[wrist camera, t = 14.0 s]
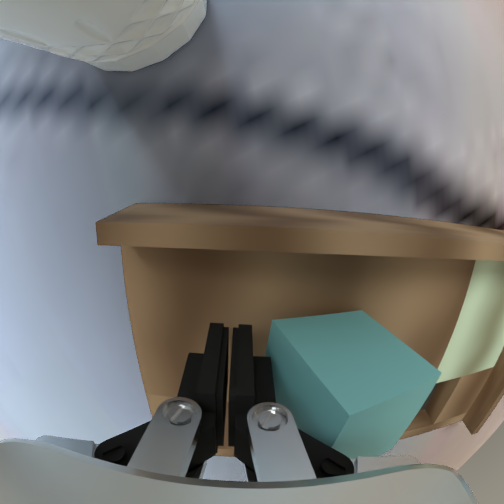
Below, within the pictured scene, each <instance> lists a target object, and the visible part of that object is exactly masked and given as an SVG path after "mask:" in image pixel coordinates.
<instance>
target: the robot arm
mask: <svg viewBox="0 0 504 504" xmlns="http://www.w3.org/2000/svg"><path fill="white" fill-rule="evenodd" d="M228 348H229V327H224V323H210V325H209V330H208V335H207V340H206V345H205V350H204V354H203V353H189V354H188V357H187V361H186V365H185V368H184V372H183V376H182V380H181V384H180V387H179V391H178V395H177V397H173V398H170V399H167V400H165V401H164V402H162V403H161V404H160V405H159V407H158V408H157V410H156V412H155V414H154V416H153V418H152V420H151V421H149V422H147V423H145V424H142V425H140V426H138V427H136V428H134V429H131V430H129V431H127V432H125V433H122V434H120V435H117V436H115V437H113V438H110V439H108V440H105V441H104V442H102V443H100V444H95V443H94V441H86V440H77V439H69V438H62V437H55V436H41V437H38V438H37V439H36V440H29V439H16V438H14V439H4V440H1V441H0V504H479V503H478V501H477V499H476V497H475V495H474V494H473V492H472V490H471V489H470V487H469V486H468V484H467V483H466V481H465V480H464V478H463V477H462V476H461V475H460V474H459V473H458V472H457V471H455V470H454V469H453V468H450V467H448V466H443V465H437V464H421V463H420V462H419V461H418V460H417V459H416V458H414V457H411V456H384V457H360V456H357V458H356V459H350V458H348V457H347V456H346V455H344V454H342V453H341V452H339V451H337V450H335V449H333V448H331V447H330V446H328V445H326V444H324V443H322V442H321V441H319V440H317V439H315V438H314V437H312V436H310V435H309V434H307V433H305V432H304V431H302V430H300V429H299V428H297V426H296V423H295V421H294V418H293V415H292V414H291V412H290V410H289V409H287V408H286V407H285V406H283V405H281V404H278V403H276V398H275V389H274V381H273V372H272V363H271V357H264V356H253V336H252V325H248V324H239V327H238V328H236V327H233V336H232V350H231V365H230V380H229V402H228V446H230V447H234V456H235V457H236V458H238V459H239V460H240V461H242V462H243V468H244V473H245V478H246V482H240V481H219V480H206V479H202V478H203V475H204V471H205V468H206V465H207V460H208V459H209V458H211V457H213V456H214V455H216V453H218V446H224V432H225V417H226V402H227V387H228Z"/></svg>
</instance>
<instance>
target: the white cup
mask: <svg viewBox="0 0 504 504" xmlns="http://www.w3.org/2000/svg"><path fill="white" fill-rule="evenodd" d="M206 9H207V0H0V39H4V40H8V41H12V42H15V43H19V44H22V45H26V46H29V47H32V48H35V49H39V50H43V51H48V52H51V53H54V54H57V55H60V56H63V57H66V58H71V59H76V60H81V61H84V62H86V63H89V64H91V65H93V66H96V67H98V68H100V69H102V70H105V71H136V70H138V69H141V68H143V67H146V66H149V65H152V64H155V63H157V62H160V61H163V60H165V59H166V58H167V57H169V56H170V55H171V54H172V53H174V52H175V51H176V50H178V49H179V48H180V47H182V46H183V45H184V44H186V43H187V42H189V41H190V40H191V38H192V37H193V35H194V33H195V32H196V30H197V29H198V27H199V26H200V24H201V23H202V21H203V20H204V18H205V17H206Z"/></svg>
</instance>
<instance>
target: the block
mask: <svg viewBox="0 0 504 504" xmlns="http://www.w3.org/2000/svg"><path fill="white" fill-rule="evenodd" d="M265 357H271V363H272V372H273V381H274V389H275V398H276V403H278V404H281V405H283V406H285V407H286V408H287V409H289V410H290V412H291V414H292V415H293V418H294V421H295V423H296V426H297V428H299V429H300V430H302V431H304V432H305V433H307V434H309V435H310V436H312V437H314V438H315V439H317V440H319V441H321V442H322V443H324V444H326V445H328V446H330V447H331V448H333V449H335V450H337V451H339V452H341V453H342V454H344V455H346V456H347V457H348V458H350V459H356V458H357V456H360V457H378V456H380V455H382V454H383V453H385V452H387V451H389V450H391V449H392V448H393V446H394V445H395V444H396V443H397V441H398V440H399V439H400V437H401V436H402V434H403V433H404V432H405V430H406V429H407V428H408V426H409V425H410V423H411V422H412V420H413V419H414V418H415V416H416V415H417V413H418V412H419V410H420V409H421V407H422V405H423V404H424V402H425V401H426V399H427V397H428V396H429V394H430V393H431V391H432V389H433V388H434V386H435V384H436V382H437V381H438V379H439V377H440V375H441V374H442V373H441V372H440V371H439V370H438V369H436V368H435V367H434V366H433V365H431V364H430V363H429V362H428V361H426V360H425V359H424V358H423V357H421V356H420V355H419V354H418V353H416V352H415V351H414V350H412V349H411V348H410V347H409V346H407V345H406V344H405V343H404V342H402V341H401V340H400V339H399V338H397V337H396V336H395V335H393V334H392V333H391V332H390V331H388V330H387V329H386V328H384V327H383V326H382V325H381V324H379V323H378V322H377V321H375V320H374V319H373V318H372V317H370V316H369V315H368V314H366V313H365V312H364V311H362V310H358V311H351V312H343V313H335V314H326V315H317V316H308V317H298V318H287V319H276V320H272V323H271V328H270V333H269V338H268V342H267V347H266V352H265Z"/></svg>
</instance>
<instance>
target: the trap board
mask: <svg viewBox="0 0 504 504" xmlns="http://www.w3.org/2000/svg"><path fill="white" fill-rule="evenodd" d="M96 232H97V243H98V245H110V246H121V252H122V263H123V272H124V280H125V288H126V296H127V303H128V309H129V315H130V321H131V327H132V333H133V338H134V343H135V348H136V353H137V358H138V363H139V367H140V372H141V376H142V380H143V384H144V388H145V392H146V396H147V400H148V403H149V407H150V411H151V414H152V418H153V416H154V414H155V412H156V410H157V408H158V407H159V405H160V404H161V403H162V402H164V401H165V400H167V399H170V398H173V397H177V395H178V391H179V387H180V384H181V380H182V376H183V372H184V368H185V365H186V361H187V357H188V354H189V353H203V354H204V350H205V345H206V340H207V335H208V330H209V325H210V323H224V327H229V348H228V387H227V402H226V417H225V432H224V446H218V453H216V455H214V456H230V457H235V456H234V447H230V446H228V402H229V380H230V365H231V350H232V336H233V327H236V328H238V327H239V324H248V325H252V336H253V356H264V357H265V352H266V347H267V342H268V338H269V333H270V328H271V323H272V320H276V319H287V318H298V317H308V316H317V315H326V314H335V313H343V312H351V311H358V310H362V311H364V312H365V313H366V314H368V315H369V316H370V317H372V318H373V319H374V320H375V321H377V322H378V323H379V324H381V325H382V326H383V327H384V328H386V329H387V330H388V331H390V332H391V333H392V334H393V335H395V336H396V337H397V338H399V339H400V340H401V341H402V342H404V343H405V344H406V345H407V346H409V347H410V348H411V349H412V350H414V351H415V352H416V353H418V354H419V355H420V356H421V357H423V358H424V359H425V360H426V361H428V362H429V363H430V364H431V365H433V366H434V367H435V368H436V369H438V370H439V371H440V372H441V373H442V374H441V375H440V377H439V379H438V381H437V382H436V384H435V386H434V388H433V389H432V391H431V393H430V394H429V396H428V397H427V399H426V401H425V402H424V404H423V405H422V407H421V409H420V410H419V412H418V413H417V415H416V416H415V418H414V419H413V420H412V422H411V423H410V425H409V426H408V428H407V429H406V430H405V432H404V433H403V434H402V436H401V437H400V439H404V438H408V437H412V436H415V435H419V434H422V433H425V432H429V431H432V430H435V429H438V428H441V427H444V426H447V425H450V424H453V423H455V422H458V421H461V420H462V421H463V422H464V424H465V425H466V427H467V428H468V430H469V431H470V433H471V435H473V434H475V433H477V432H478V431H479V430H480V428H481V427H482V426H483V424H484V423H485V421H486V420H487V419H488V417H489V416H490V414H491V413H492V412H493V410H494V409H495V407H496V406H497V404H498V402H499V401H500V399H501V398H502V396H503V395H504V231H503V230H497V229H491V228H484V227H478V226H471V225H464V224H457V223H449V222H441V221H433V220H425V219H417V218H408V217H399V216H389V215H379V214H368V213H357V212H345V211H332V210H319V209H304V208H288V207H269V206H247V205H220V204H170V203H136V204H134V205H131V206H129V207H127V208H125V209H123V210H120V211H118V212H116V213H114V214H112V215H110V216H108V217H106V218H104V219H101V220H99V221H97V222H96ZM400 439H399V440H400Z"/></svg>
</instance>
